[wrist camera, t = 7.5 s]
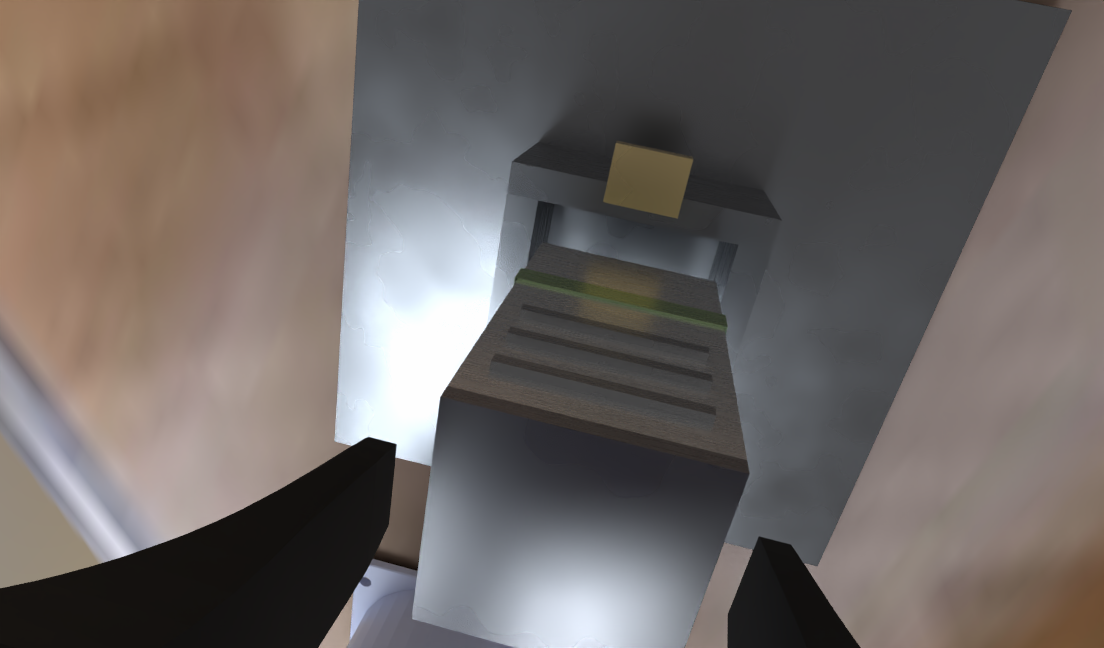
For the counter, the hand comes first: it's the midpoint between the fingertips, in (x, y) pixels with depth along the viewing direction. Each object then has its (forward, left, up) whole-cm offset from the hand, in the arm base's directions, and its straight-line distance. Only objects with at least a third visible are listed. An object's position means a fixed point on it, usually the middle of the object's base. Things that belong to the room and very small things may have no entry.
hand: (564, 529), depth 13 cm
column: (+2, 0, -4) cm, 5 cm away
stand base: (+2, 0, -10) cm, 11 cm away
